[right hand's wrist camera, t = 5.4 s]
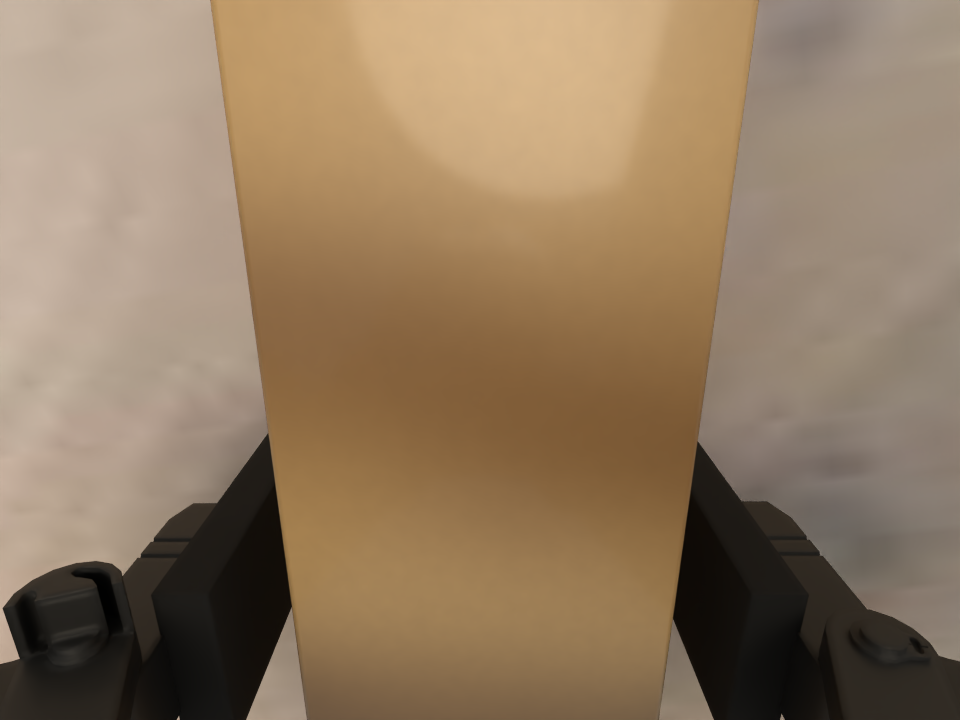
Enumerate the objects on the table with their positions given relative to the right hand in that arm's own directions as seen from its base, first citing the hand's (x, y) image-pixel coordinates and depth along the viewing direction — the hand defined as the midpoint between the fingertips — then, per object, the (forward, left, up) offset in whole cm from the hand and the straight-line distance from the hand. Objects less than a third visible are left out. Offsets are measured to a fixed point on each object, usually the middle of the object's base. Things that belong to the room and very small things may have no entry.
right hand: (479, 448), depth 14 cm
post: (+23, +5, -1) cm, 24 cm away
